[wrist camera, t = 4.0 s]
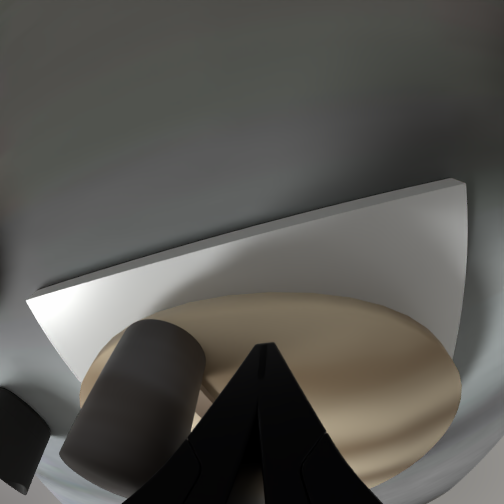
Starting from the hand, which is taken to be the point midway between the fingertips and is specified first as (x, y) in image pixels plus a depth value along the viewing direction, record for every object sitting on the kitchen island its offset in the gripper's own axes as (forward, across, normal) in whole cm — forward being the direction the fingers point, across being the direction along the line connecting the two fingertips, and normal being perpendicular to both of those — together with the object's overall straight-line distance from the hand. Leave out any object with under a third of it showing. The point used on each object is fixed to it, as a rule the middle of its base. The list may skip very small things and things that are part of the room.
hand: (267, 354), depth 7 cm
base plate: (+6, +1, +10) cm, 11 cm away
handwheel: (+4, +1, +10) cm, 11 cm away
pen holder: (+5, +31, +15) cm, 35 cm away
